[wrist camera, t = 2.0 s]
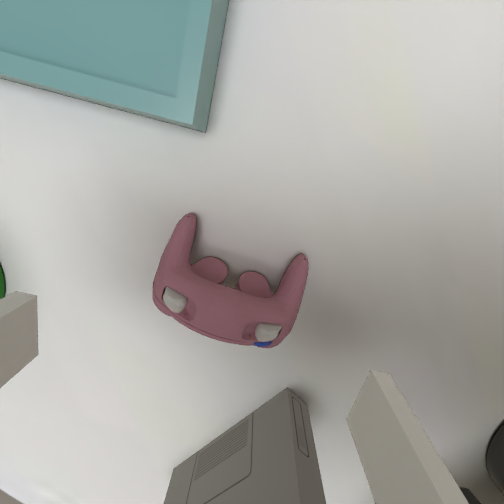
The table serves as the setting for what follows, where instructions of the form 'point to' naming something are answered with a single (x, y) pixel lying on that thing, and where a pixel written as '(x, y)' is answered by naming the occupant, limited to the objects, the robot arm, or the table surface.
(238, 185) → the table surface
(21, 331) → the robot arm
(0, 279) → the motor
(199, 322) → the video game controller
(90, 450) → the table surface
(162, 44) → the tray
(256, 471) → the cassette player
